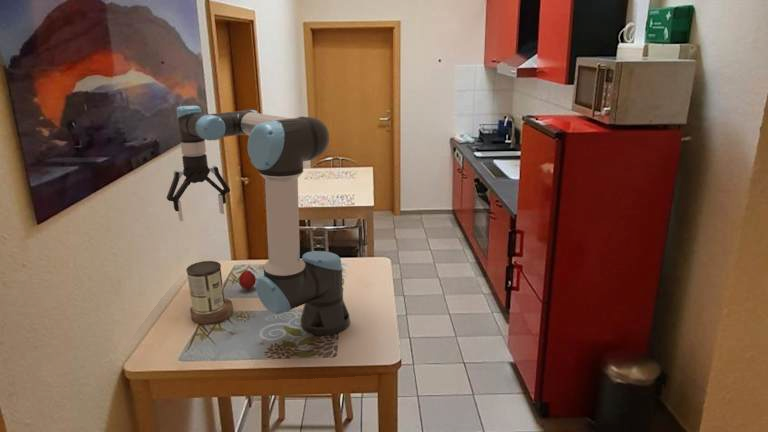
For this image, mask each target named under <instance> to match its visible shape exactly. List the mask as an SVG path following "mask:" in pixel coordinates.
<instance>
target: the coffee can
mask: <svg viewBox="0 0 768 432" xmlns="http://www.w3.org/2000/svg"><path fill="white" fill-rule="evenodd" d="M185 271H186V273H187V281H188V287H189V293H190V300H191V307H192V310H193V312H195V313H197V314H211V313H215V312H218V311H220V310H222V309H223V308H224V307H225V300H224V298H225V295H224V294H225V293H224V286H223V279H222V269H221V263H220V262H218V261H214V260H204V261H203V260H202V261H199V262H195V263H191V264H189V265H188V267H187V268H186V270H185Z"/></svg>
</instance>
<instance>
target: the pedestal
mask: <svg viewBox="0 0 768 432" xmlns="http://www.w3.org/2000/svg"><path fill="white" fill-rule="evenodd" d="M224 300H225V307H224V308H223V309H222V310H220V311H218V312H215V313H211V314H197V313H195V312H193V310H192V306H191V307H190V309H189V312H190V317H191V321H192V322H193V323H195V324H198V325H214V324H219V323H222V322H225V321H226V320H228V319H229V318H231V317H232V316H233V315H234V308H233V305H234V304H233V301H232V300H230V299H229V298H226V297H224Z"/></svg>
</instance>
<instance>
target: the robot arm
mask: <svg viewBox="0 0 768 432" xmlns="http://www.w3.org/2000/svg"><path fill="white" fill-rule="evenodd" d="M176 121H177V129H178V134H179V142H180V148H181V149H180V150H181V154H182V157H181V158H182V165H183V170H181V171H179V170H174V171H173V179H172V182H171V183H170V184H171V185H170V187H169V190H168V192H167V196H166V200H167V201H169V202H172V203H173V209H174V211H175V212H177V215H178V220H179V221H180V222H183V221H184V216H183V211H182V203H181V200H180V199H181V197H182V196H183V194H184V193H185V191H186V190H187V188H188V187H189V186H190V185H191V183H192V184H196V183H204V182H205V181H206V182H207V183H209V185H211V187H212V188H214V189H215V190H216V191H217V192H219V193H217V197H218V199H217V200H218V206H219V208H218V209H219V213H220V214H222V215H224V214H225V209H224V208H225V207H224V205H225V204H226V203H227V201H226V195H227V193H230V192H231V189H230V188H229V186H228V184H227V183H226V181H225V180H224V178H223V177H222V175H221V174H220V171H219V168H218V166H216V165H213V166H211V167H209V165H208V157H207V154H206V152H207V149H206V142H205V140H206V141H218V140H220V139H221V138H227V137H233V136H248V139H247V140H248V141H247V153H248V157H249V158H250V161H249V162H250V163H251V164H252V165H253V167H254V168H255V169H258V174H259V175H260V176H261V177H262V178H263V179H264V188H265V191H264V192H265V209H266V228H267V229H266V231H267V247H268V248H267V250H268V260H267V261H266V262H265V263H264V264H263V275H260V276H259V277H258V278H257V280H256V282H255V290H256V294H257V296H258V299H259V301H260V302H261V304H262V306H263V307H264V308H265V309H266V310H267V311H268V312H270V313H272V314H274V315H280V314H283V313H287V312H290V311H291V310H293V309H296V308H298V307H300V306H303V305H304V306H303V310H302V313H301V317H300V327H301V329H302V330H303V331H304V332H305V333H308V334H310V335H315V336H330V335H335V334H338V333H340V332H343V331H344V330H346V329H347V328H348V327H349V325H350V322H351V321H350V313H349V311H348V309H347V306H346V303H345V302H344V293H343V266H342V260H341V257H340V256H339V255H338V254H336V253H333V252H331V251H323V250H314V251H307V252H305V253H304V254H302V256H301V255H300V253H301V251H300V249H301V248H300V247H301V245H300V219H299V218H300V213H299V210H300V209H299V208H300V207H299V183H298V182H299V177H300V176H301V175H302V174H303V173H304V162H307V161H311V160H312V161H313V160H315V159H317V158H319V157H320V156H322V155H323V154H324V153H325V151H326V150H327V149H328V146H329V144H330V131H329V129H328V126H327V125H326V124H325V123H324V122H323V121H322V120H321V119H318V118H317V117H312V116H298V117H295V118H292V117H285V116H278V115H270V114H266V113H265V114H263V113H259V112H258V111H257V110H255V109H243V110H239V111H227V112H226V111H225V112H217V113H207V114H206V113H205V114H203V112H202V108H201V107H200V106H199V105H182V106H178V107H177V108H176ZM210 172H211V174H213V175H214V176H215V178H216V179H217V180H218V182H219V183H220V185H221V186H222V188H223V189H222V188H221V187H220V186H219V185H218V184H217V183H216V182H215V181H213V180H212V179H211V178H210V177H209V174H210ZM182 176H184V177H185V178H184V180H183V183H182V184H181V186H180V187H179V188H178V189H177V187H178V185H179V181H180V179H181V178H182ZM176 190H177V191H176ZM175 192H176V193H175ZM300 257H302V258H300Z"/></svg>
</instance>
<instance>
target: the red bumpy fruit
mask: <svg viewBox="0 0 768 432" xmlns="http://www.w3.org/2000/svg"><path fill="white" fill-rule="evenodd" d="M256 281H257V280H256V276H255V274H254V273H253V272H252V271H249V269H247V268H246V269H244V270H243V272H242V273H241V274H240V276H239V278H238V283H239V286H240V287H241V288H243V289H245V290H247V291H249V290H251V289H252V288H254V286H256Z"/></svg>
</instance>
